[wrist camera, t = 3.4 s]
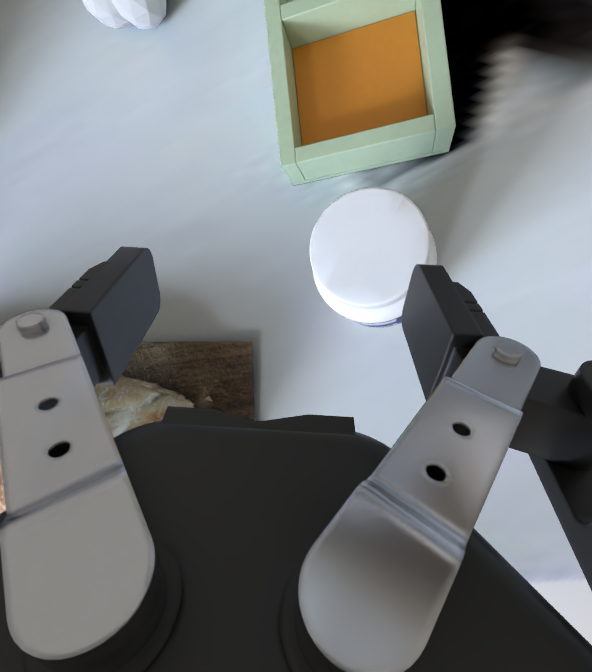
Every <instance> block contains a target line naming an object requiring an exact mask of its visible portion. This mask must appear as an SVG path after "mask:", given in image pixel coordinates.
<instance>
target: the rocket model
mask: <svg viewBox="0 0 592 672" xmlns="http://www.w3.org/2000/svg"><path fill="white" fill-rule="evenodd" d="M82 1H83V3H84V5H85V6H86V8H87V10H88V11H89V12H90V13H91V14H93V15H94V16H95V17H96V18H97V19H98V20H100V21H101V22H102V23H103V24H104V25H106V26H110V27H113V28H117V29H119V28H123V27H128V26H132V25H135V26H136V27H138V28H139V29H157V28H158V26H159V25H160V23H161V22H162V20H163V19H164V17H165V15H166V0H82Z"/></svg>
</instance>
